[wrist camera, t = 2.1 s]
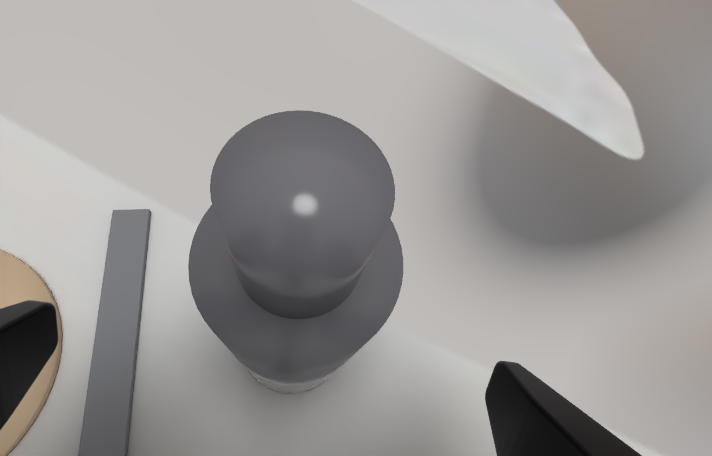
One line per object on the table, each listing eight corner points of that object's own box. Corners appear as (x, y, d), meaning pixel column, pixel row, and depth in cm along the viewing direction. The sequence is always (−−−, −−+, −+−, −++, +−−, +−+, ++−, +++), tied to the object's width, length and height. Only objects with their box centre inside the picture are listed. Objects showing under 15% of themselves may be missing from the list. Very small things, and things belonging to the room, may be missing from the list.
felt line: (104, 681, 13) (100, 687, 12) (49, 693, 12) (43, 699, 12) (151, 212, 19) (148, 209, 19) (115, 213, 19) (112, 210, 18)
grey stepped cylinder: (291, 418, 16) (298, 425, 5) (218, 337, 17) (67, 169, 5) (366, 338, 18) (509, 194, 6) (296, 268, 19) (310, 28, 7)
